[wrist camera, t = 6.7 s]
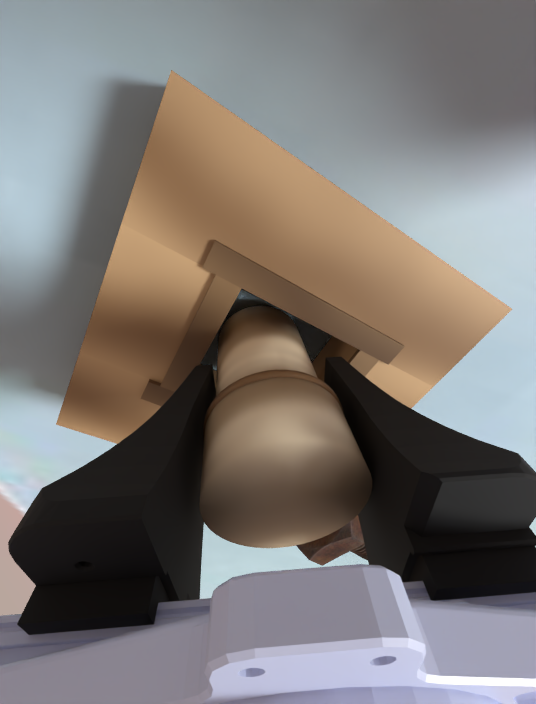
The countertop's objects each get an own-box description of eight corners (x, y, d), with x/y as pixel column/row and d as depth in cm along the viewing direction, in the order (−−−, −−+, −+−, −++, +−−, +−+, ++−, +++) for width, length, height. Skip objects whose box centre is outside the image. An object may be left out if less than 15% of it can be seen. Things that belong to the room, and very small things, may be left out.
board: (187, 88, 10) (169, 67, 8) (473, 287, 15) (515, 311, 12) (81, 389, 16) (53, 427, 14) (306, 469, 20) (313, 508, 18)
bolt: (407, 526, 28) (295, 455, 22) (469, 533, 25) (357, 451, 18) (405, 605, 25) (273, 549, 19) (476, 627, 21) (342, 567, 15)
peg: (200, 306, 13) (175, 459, 7) (303, 290, 14) (380, 423, 7) (220, 388, 16) (217, 560, 9) (308, 373, 16) (368, 532, 9)
